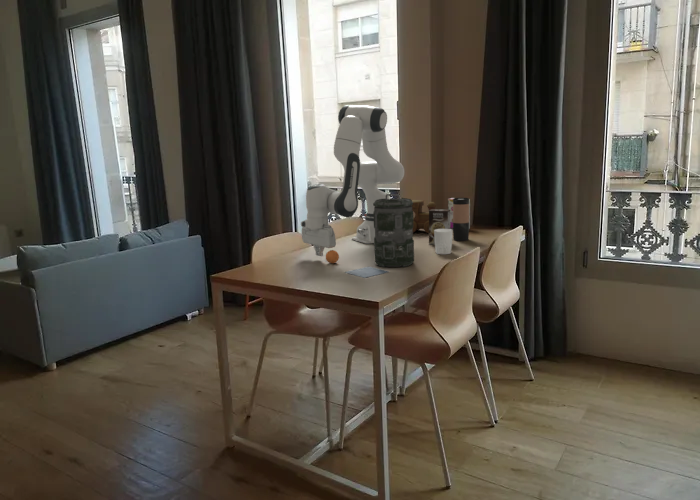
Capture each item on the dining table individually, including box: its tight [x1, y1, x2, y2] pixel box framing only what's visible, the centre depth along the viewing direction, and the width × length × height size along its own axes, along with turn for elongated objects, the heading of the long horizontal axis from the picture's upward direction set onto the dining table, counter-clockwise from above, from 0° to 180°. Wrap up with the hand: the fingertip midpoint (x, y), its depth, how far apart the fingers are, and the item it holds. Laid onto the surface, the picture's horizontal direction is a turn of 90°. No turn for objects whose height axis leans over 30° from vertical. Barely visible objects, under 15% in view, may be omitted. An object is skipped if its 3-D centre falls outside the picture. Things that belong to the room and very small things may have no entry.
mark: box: [344, 266, 390, 279], centre depth 203 cm, size 12×12×1 cm
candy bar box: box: [447, 197, 471, 230], centre depth 288 cm, size 11×5×16 cm, turn 46°
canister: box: [373, 193, 415, 268], centre depth 212 cm, size 16×16×28 cm
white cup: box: [434, 229, 453, 255], centre depth 231 cm, size 8×8×10 cm
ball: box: [325, 249, 340, 264], centre depth 220 cm, size 6×6×6 cm
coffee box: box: [428, 208, 450, 246], centre depth 250 cm, size 9×6×16 cm
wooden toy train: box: [411, 199, 437, 234], centre depth 283 cm, size 20×11×17 cm, turn 66°
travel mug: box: [452, 197, 470, 242], centre depth 257 cm, size 8×8×20 cm
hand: (319, 255), depth 227 cm, fingers closed
